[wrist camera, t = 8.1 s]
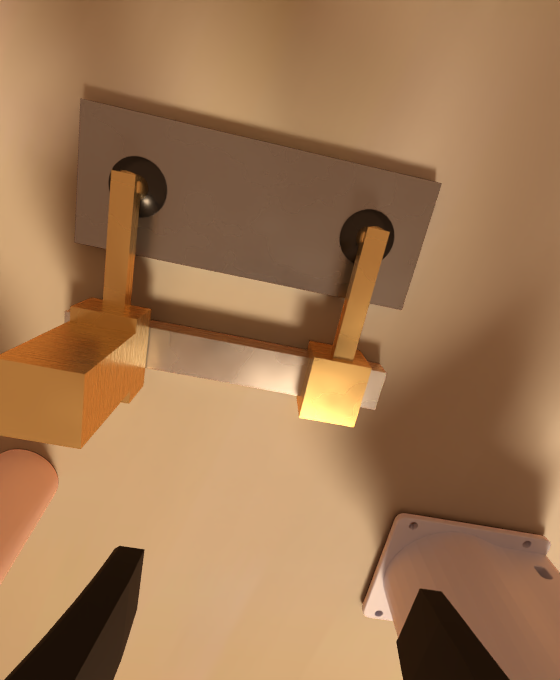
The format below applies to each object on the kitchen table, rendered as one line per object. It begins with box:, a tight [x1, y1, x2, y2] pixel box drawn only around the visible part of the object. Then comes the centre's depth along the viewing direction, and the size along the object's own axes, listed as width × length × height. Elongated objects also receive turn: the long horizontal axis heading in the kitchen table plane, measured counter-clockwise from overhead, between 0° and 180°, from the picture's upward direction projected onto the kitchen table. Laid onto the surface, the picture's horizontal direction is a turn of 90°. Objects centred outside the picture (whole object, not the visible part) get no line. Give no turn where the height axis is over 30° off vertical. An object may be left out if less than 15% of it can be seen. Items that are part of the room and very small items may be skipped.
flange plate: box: [75, 99, 442, 310], centre depth 16 cm, size 15×6×1 cm, turn 78°
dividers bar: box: [65, 226, 390, 427], centre depth 17 cm, size 15×9×2 cm, turn 78°
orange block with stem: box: [0, 170, 151, 449], centre depth 14 cm, size 3×9×7 cm, turn 168°
